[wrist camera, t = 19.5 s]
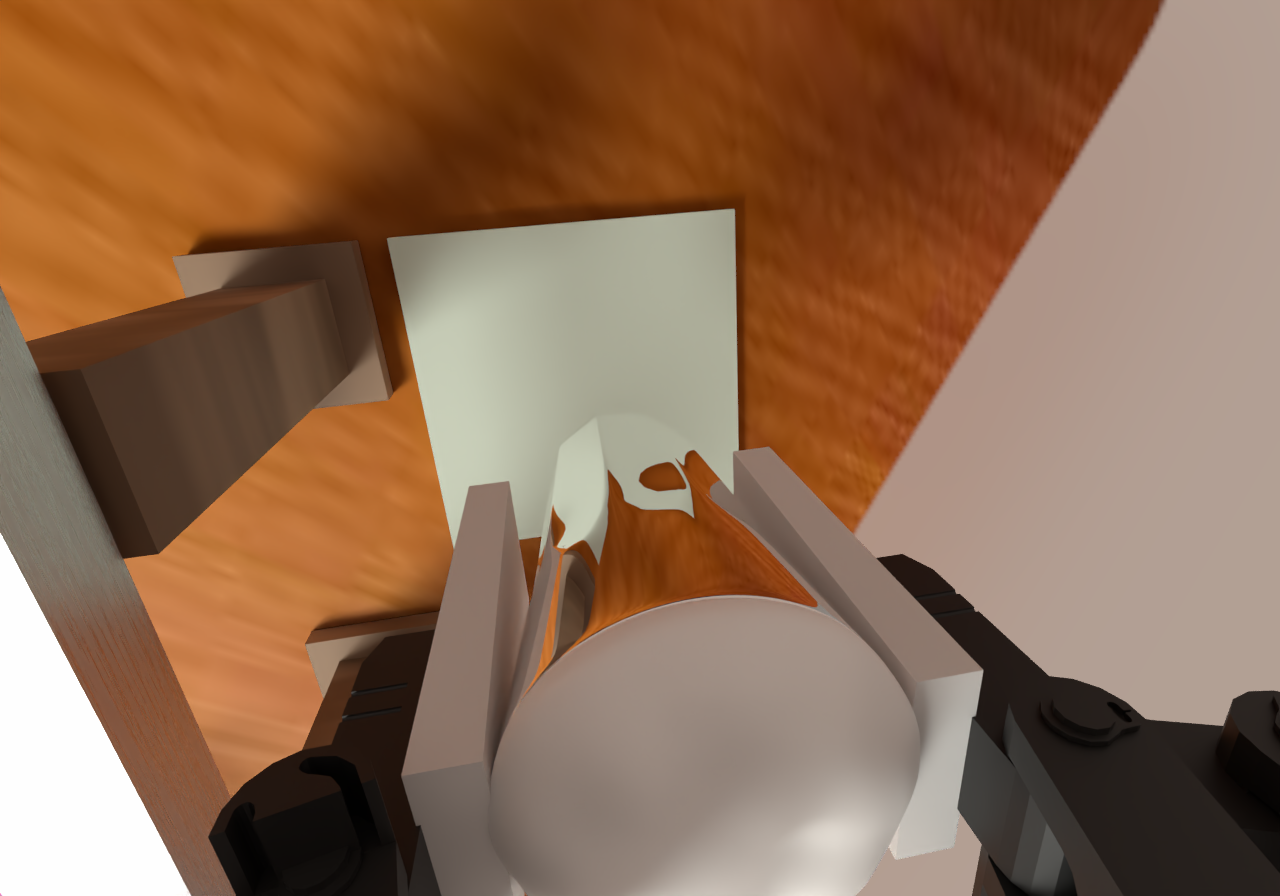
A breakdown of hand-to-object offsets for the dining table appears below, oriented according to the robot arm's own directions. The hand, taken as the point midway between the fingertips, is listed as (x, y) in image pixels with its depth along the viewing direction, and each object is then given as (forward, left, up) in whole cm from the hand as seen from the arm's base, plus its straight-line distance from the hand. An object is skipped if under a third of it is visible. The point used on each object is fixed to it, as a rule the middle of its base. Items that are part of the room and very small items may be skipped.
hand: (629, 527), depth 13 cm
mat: (0, 0, -11) cm, 11 cm away
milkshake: (0, 0, -2) cm, 2 cm away
